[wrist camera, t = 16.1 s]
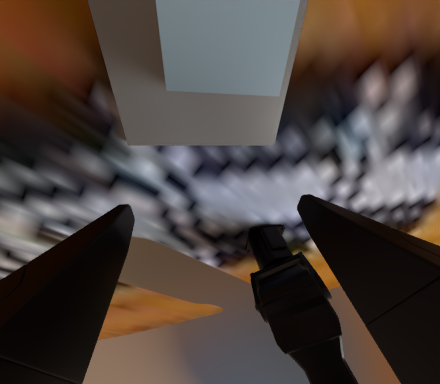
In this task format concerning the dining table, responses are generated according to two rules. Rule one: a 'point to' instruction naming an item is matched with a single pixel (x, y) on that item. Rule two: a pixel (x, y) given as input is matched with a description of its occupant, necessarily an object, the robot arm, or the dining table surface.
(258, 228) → the robot arm
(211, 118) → the base plate
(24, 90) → the dining table surface
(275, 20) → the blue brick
